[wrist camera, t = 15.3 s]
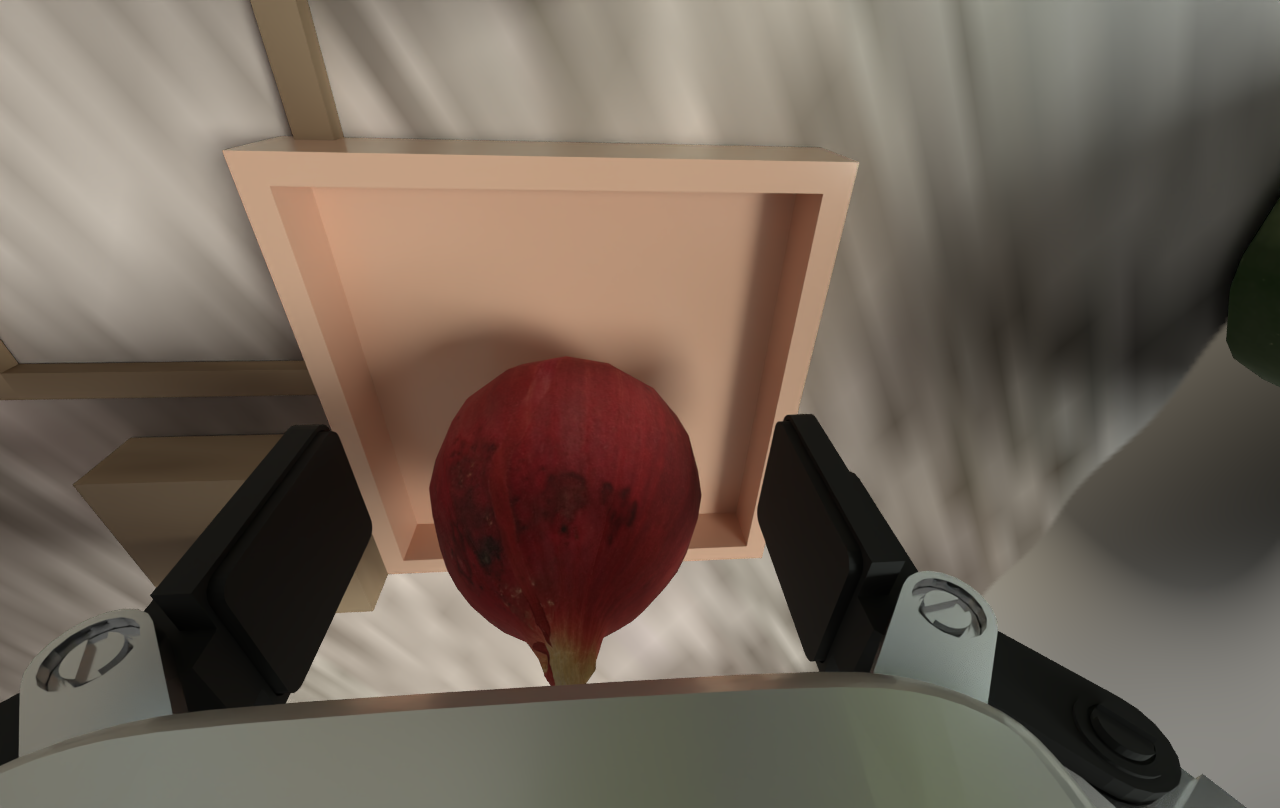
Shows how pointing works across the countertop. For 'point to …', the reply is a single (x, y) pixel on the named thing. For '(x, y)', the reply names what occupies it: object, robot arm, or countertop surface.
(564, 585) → the onion
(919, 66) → the countertop surface
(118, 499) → the tan frame with plate
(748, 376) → the dish
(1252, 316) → the green bottle
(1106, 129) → the countertop surface
